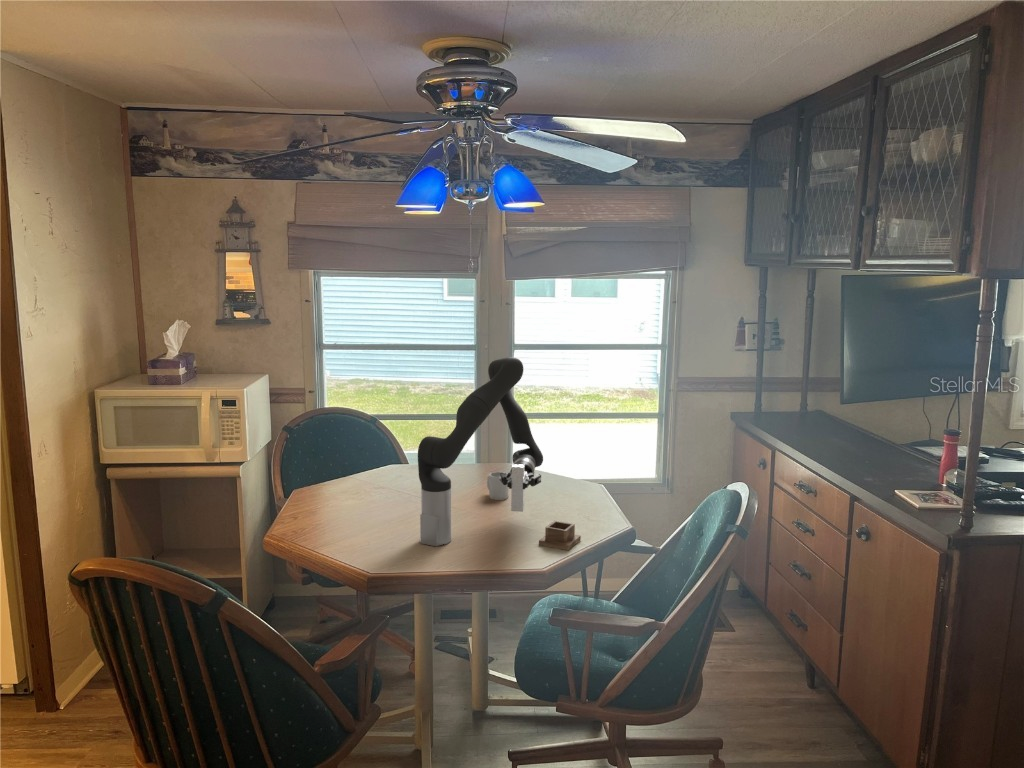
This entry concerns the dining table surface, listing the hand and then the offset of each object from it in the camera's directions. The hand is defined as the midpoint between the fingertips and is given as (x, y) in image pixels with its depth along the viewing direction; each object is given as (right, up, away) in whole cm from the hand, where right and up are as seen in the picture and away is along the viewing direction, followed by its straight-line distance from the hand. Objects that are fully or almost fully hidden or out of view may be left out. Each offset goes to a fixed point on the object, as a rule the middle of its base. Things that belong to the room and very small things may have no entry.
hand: (517, 485), depth 228 cm
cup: (-7, -12, +55) cm, 57 cm away
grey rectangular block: (0, -8, +4) cm, 9 cm away
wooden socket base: (+14, -19, +8) cm, 25 cm away
